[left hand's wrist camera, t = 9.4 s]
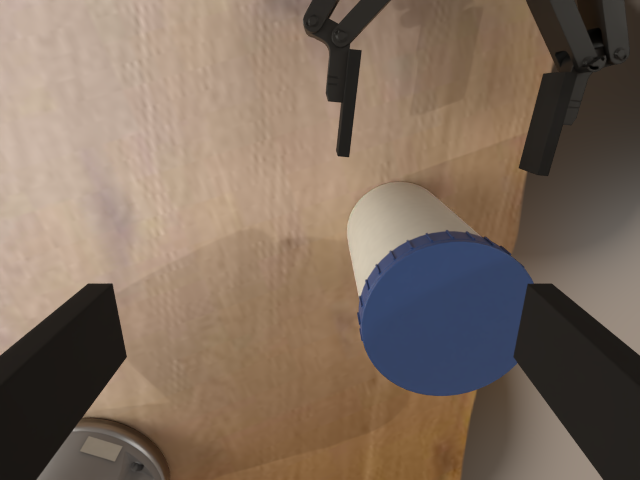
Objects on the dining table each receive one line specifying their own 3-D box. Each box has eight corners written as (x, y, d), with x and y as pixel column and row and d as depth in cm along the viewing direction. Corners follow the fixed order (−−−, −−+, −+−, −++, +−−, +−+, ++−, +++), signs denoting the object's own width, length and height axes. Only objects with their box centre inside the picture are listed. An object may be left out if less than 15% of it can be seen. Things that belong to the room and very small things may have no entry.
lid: (477, 195, 21) (490, 203, 19) (552, 326, 23) (569, 343, 22) (324, 290, 23) (325, 304, 21) (410, 402, 25) (417, 422, 24)
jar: (414, 161, 34) (484, 209, 20) (463, 242, 37) (557, 337, 22) (327, 218, 36) (333, 301, 21) (380, 292, 38) (417, 411, 24)
